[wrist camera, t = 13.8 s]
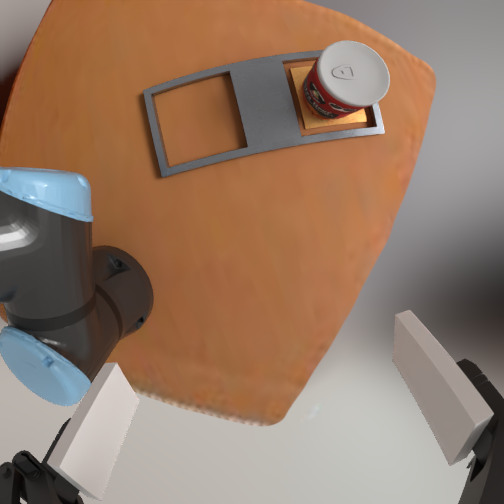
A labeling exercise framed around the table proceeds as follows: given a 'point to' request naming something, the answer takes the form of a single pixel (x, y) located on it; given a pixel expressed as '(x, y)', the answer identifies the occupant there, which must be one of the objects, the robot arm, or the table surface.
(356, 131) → the rail frame
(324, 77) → the canned food
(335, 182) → the table surface
